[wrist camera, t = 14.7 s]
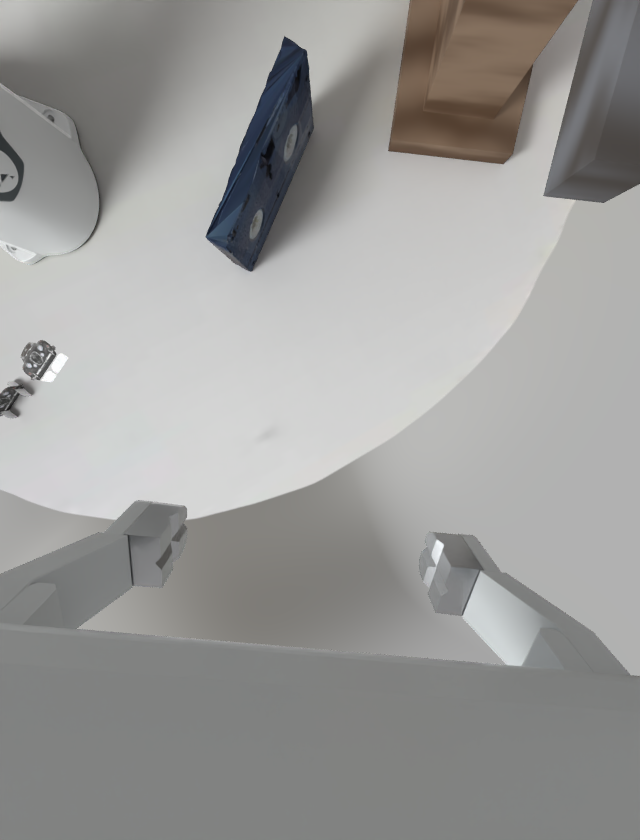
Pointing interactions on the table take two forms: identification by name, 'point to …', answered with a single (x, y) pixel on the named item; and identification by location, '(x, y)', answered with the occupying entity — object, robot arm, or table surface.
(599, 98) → the mallet
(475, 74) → the pedestal shelf
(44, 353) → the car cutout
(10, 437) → the table surface
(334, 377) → the table surface
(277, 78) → the vhs cassette tape
